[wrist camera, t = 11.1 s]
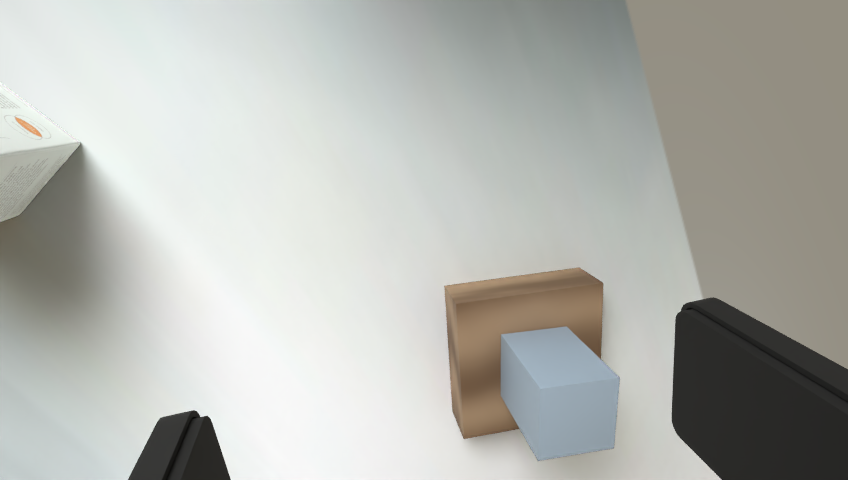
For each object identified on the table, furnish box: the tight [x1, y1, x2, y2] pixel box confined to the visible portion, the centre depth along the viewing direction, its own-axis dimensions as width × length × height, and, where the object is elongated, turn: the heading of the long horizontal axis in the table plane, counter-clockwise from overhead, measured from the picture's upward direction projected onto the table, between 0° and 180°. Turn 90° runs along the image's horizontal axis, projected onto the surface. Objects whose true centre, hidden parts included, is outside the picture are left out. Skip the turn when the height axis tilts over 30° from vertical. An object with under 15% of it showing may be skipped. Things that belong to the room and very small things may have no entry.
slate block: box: [501, 326, 620, 461], centre depth 33 cm, size 5×5×7 cm
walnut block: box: [445, 268, 603, 439], centre depth 38 cm, size 11×11×4 cm
